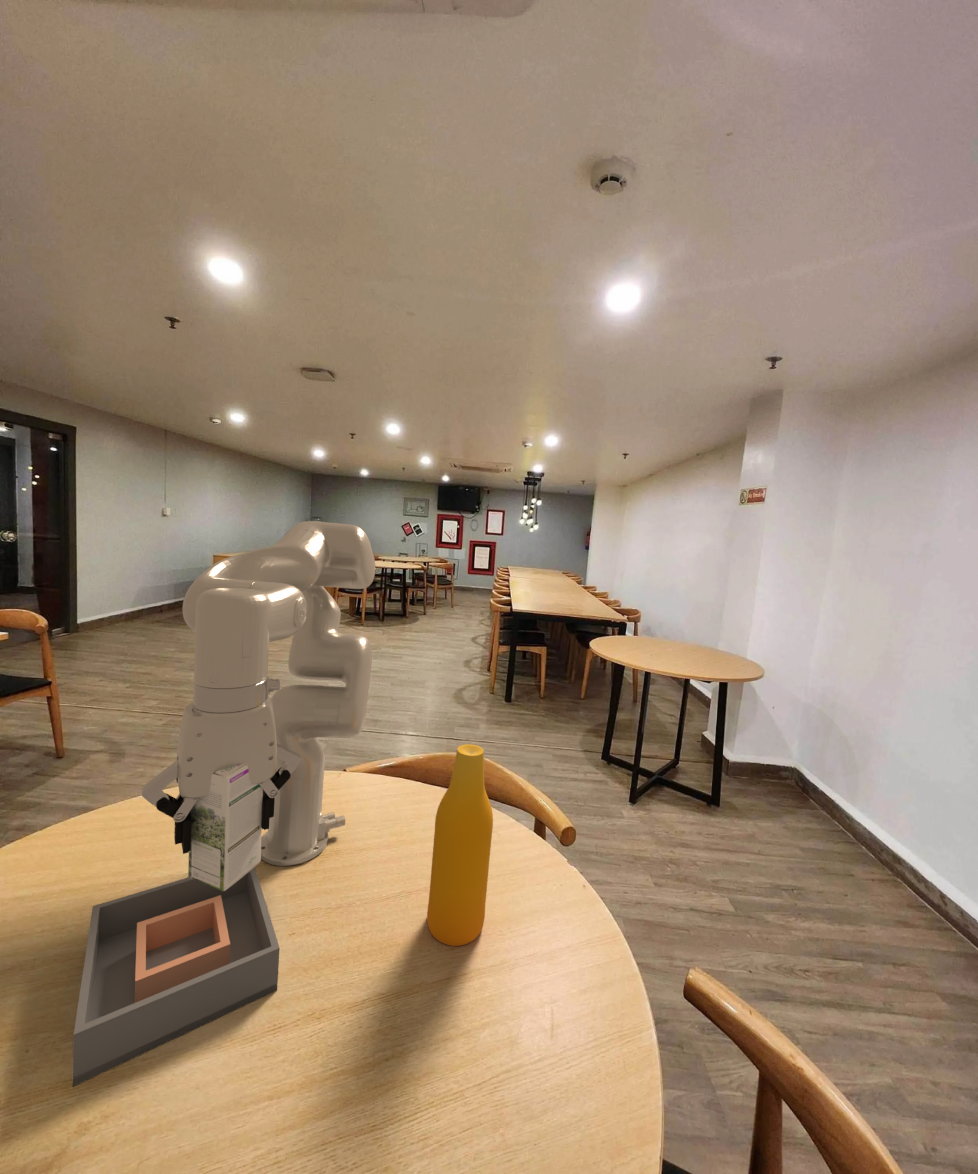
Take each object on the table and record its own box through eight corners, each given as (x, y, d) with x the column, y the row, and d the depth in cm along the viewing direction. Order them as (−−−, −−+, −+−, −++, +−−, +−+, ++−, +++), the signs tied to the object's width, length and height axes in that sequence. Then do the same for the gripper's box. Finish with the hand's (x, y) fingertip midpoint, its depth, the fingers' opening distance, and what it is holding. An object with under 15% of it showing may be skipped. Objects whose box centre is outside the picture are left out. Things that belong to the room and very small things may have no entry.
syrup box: (262, 861, 57) (267, 752, 56) (222, 895, 52) (226, 774, 50) (227, 848, 59) (231, 742, 58) (184, 879, 53) (187, 762, 52)
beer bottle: (493, 917, 75) (509, 748, 73) (464, 959, 67) (481, 770, 65) (447, 893, 79) (460, 733, 77) (414, 930, 71) (429, 751, 69)
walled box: (250, 892, 76) (252, 858, 75) (277, 990, 60) (279, 948, 59) (91, 946, 64) (92, 906, 63) (72, 1087, 48) (73, 1035, 47)
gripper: (299, 676, 61) (293, 799, 63) (137, 693, 51) (134, 841, 52) (317, 693, 56) (309, 828, 57) (137, 717, 45) (135, 882, 47)
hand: (226, 833), depth 55 cm, fingers closed on syrup box, 7 cm apart
